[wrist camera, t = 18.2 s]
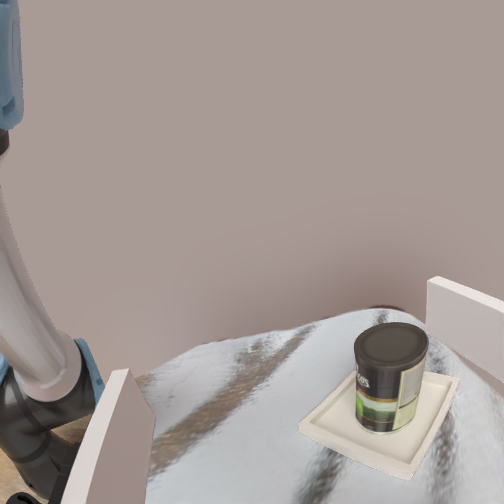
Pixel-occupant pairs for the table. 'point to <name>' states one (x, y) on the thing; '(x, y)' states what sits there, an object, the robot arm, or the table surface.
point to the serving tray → (382, 446)
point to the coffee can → (389, 376)
